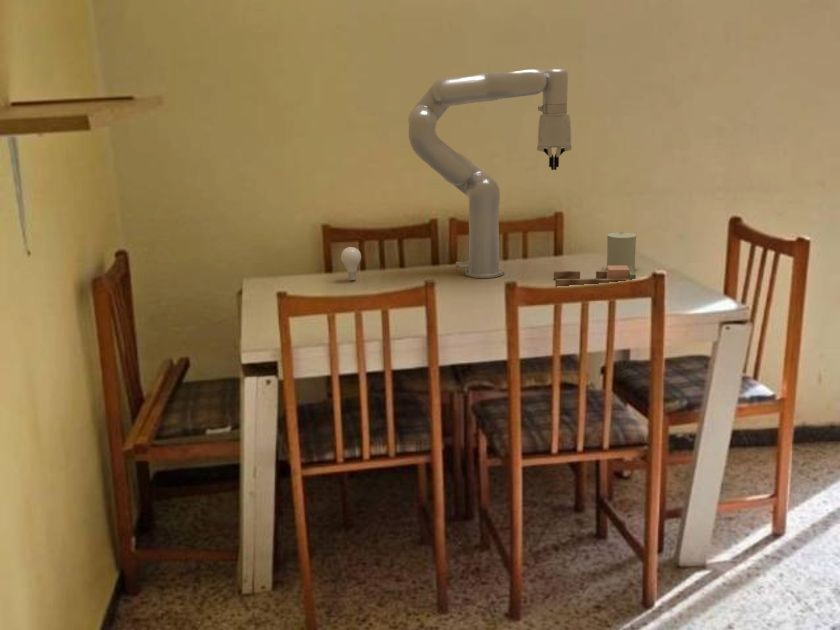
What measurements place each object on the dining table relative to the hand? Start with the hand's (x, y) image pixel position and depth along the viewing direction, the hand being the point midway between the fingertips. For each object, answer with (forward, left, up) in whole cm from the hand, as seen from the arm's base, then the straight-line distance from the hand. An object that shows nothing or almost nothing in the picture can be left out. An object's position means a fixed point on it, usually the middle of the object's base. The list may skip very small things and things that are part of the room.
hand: (553, 169), depth 282 cm
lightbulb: (-64, -12, -33) cm, 73 cm away
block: (+19, -16, -33) cm, 42 cm away
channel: (+11, -17, -33) cm, 38 cm away
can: (+22, +1, -33) cm, 40 cm away
